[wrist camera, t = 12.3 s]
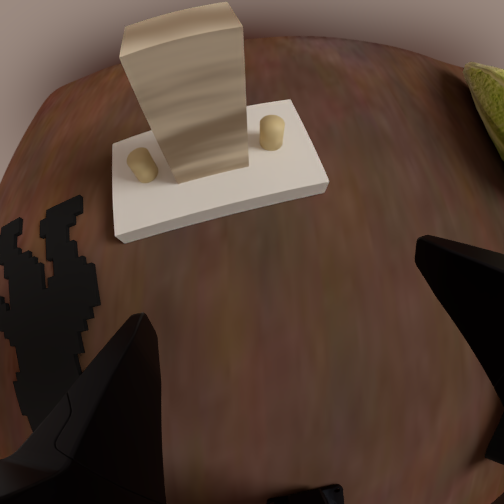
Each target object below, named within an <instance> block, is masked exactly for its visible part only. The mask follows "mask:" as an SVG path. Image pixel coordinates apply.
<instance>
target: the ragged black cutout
mask: <svg viewBox="0 0 504 504" xmlns="http://www.w3.org/2000/svg"><path fill="white" fill-rule="evenodd" d="M82 213H83V197H82V196H81V195H78V196H76V197H73V198H71V199H69V200H67V201H65V202H62V203H60V204H58V205H56V206H54V207H52V208H50V209H48V210H46V218H45V219H43V220H41V221H40V237H41V238H43V239H44V238H46V259H47V260H48V261H50V262H51V261H53V267H54V276H52V277H50V278H48V288H46V285H45V271H44V264H43V263H38V258H37V257H35V256H34V257H32V252H31V251H29V250H28V251H26V252H24V253H22V249H21V248H17V236H19V235H21V234H22V226H23V219H22V218H20V217H19V218H17V219H15V220H14V221H12V222H10V223H9V224H7V225H5V226H3V227H2V228H1V235H0V265H3V266H4V278H5V279H9V295H10V307H9V304H8V303H5V300H4V297H1V296H0V331H4V337H5V339H9V340H10V346H15V347H16V353H17V358H18V363H19V368H20V372H16V377H17V381H14V382H13V384H14V388H15V392H16V395H17V399H18V402H19V406H20V409H21V412H22V415H25V416H28V419H29V422H30V425H31V428H32V431H33V432H34V431H35V430H36V429H37V428H38V426H39V425H40V424H41V423H42V422H43V421H44V420H45V418H46V417H47V416H48V415H49V414H50V413H51V411H52V410H53V409H54V408H55V407H56V405H57V404H58V403H59V402H60V400H61V399H62V398H63V396H64V395H65V394H66V393H68V390H69V389H70V388H71V386H72V385H73V384H74V383H75V381H76V380H77V379H78V378H79V376H80V375H81V374H82V372H81V368H80V364H79V360H78V355H77V354H80V353H85V351H84V347H83V342H82V337H81V332H82V331H87V330H88V326H87V321H86V320H87V319H91V318H94V313H93V307H95V306H99V305H101V303H100V297H99V291H98V284H97V277H96V269H95V264H93V263H89V264H87V263H86V257H84V256H80V257H78V250H77V242H76V241H75V240H72V241H70V239H69V227H72V226H74V225H76V216H78V215H80V214H82ZM10 308H11V310H10Z"/></svg>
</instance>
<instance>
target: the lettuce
mask: <svg viewBox="0 0 504 504" xmlns="http://www.w3.org/2000/svg"><path fill="white" fill-rule="evenodd" d="M463 74H464V77H465V80H466V82H467V84H468V86H469V89H470V92H471V95H472V98H473V100H474V103H475V106H476V109H477V111H478V113H479V115H480V117H481V119H482V121H483V123H484V125H485V127H486V130H487V132H488V134H489V136H490V138H491V140H492V142H493V143H494V145H495V147H496V149H497V151H498V153H499V155H500V156H501V158H502V160H503V161H504V69H500V68H496V67H492V66H487V65H483V64H479V63H474V62H469V63H467V64H465V67H464V70H463Z"/></svg>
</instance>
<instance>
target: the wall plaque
mask: <svg viewBox="0 0 504 504" xmlns="http://www.w3.org/2000/svg"><path fill="white" fill-rule="evenodd" d="M485 458H487V459H490V460H492V461H495V462H497V463H500V464H503V465H504V413H503V415H502V418H501V420H500V422H499V425H498V427H497V429H496V431H495V433H494V435H493V437H492V439H491V441H490V443H489V446H488V448H487V450H486V453H485Z"/></svg>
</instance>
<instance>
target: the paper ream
mask: <svg viewBox="0 0 504 504" xmlns="http://www.w3.org/2000/svg"><path fill="white" fill-rule="evenodd" d="M119 58H120V60H121V63H122V65H123V67H124V70H125V72H126V74H127V77H128V79H129V81H130V83H131V86H132V88H133V90H134V92H135V95H136V97H137V99H138V101H139V104H140V106H141V108H142V110H143V112H144V114H145V117H146V119H147V121H148V123H149V125H150V127H151V130H152V132H153V134H154V136H155V138H156V140H157V142H158V144H159V147H160V149H161V151H162V153H163V155H164V157H165V159H166V161H167V163H168V165H169V167H170V169H171V171H172V173H173V175H174V177H175V180H176V182H177V184H180V183H184V182H188V181H191V180H195V179H199V178H203V177H207V176H211V175H215V174H219V173H223V172H227V171H231V170H235V169H240V168H244V167H249V155H248V132H247V110H246V87H245V64H244V42H243V26H242V25H241V23H240V21H239V20H238V18H237V17H236V15H235V14H234V12H233V10H232V9H231V7H230V6H229V4H228V3H227V2H223V3H216V4H210V5H204V6H199V7H194V8H190V9H185V10H181V11H176V12H173V13H169V14H165V15H161V16H158V17H154V18H151V19H148V20H144V21H141V22H138V23H136V24H132V25H130V26H127V27H125V31H124V36H123V40H122V45H121V51H120V56H119Z"/></svg>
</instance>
